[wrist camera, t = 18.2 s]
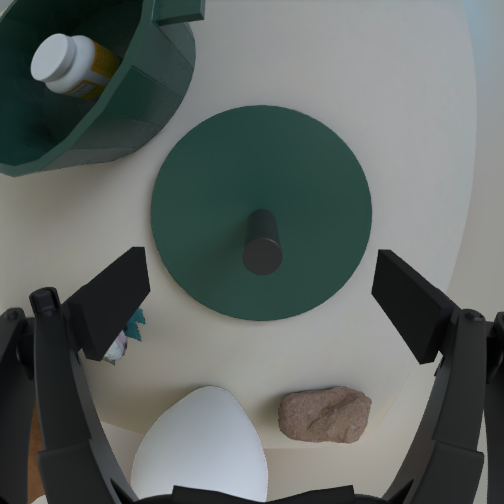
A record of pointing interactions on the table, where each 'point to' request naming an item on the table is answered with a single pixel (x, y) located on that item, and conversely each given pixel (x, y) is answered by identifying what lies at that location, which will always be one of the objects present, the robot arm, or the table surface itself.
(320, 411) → the stone
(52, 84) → the supplement bottle
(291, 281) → the stewpot lid
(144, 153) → the table surface
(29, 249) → the table surface
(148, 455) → the vase
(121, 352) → the figurine
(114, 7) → the stewpot
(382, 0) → the table surface
